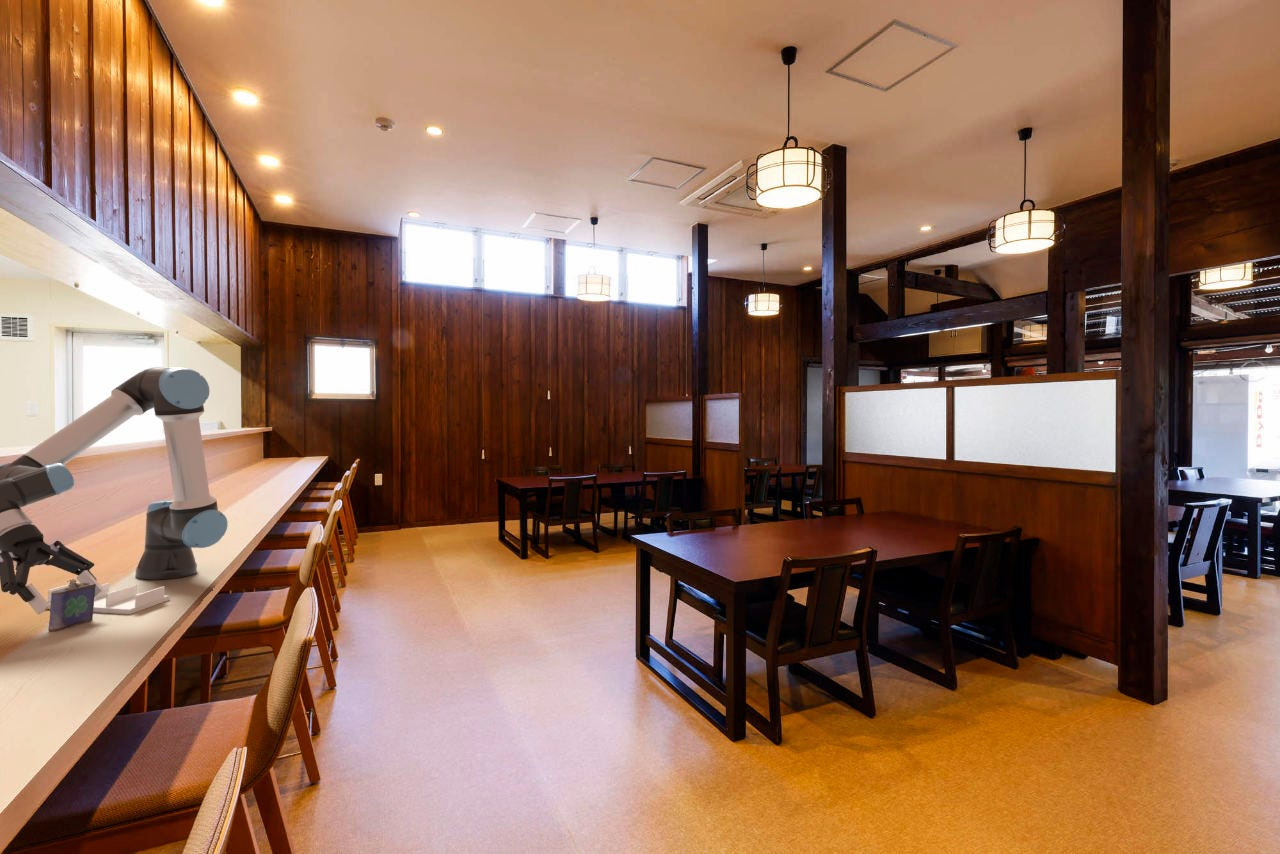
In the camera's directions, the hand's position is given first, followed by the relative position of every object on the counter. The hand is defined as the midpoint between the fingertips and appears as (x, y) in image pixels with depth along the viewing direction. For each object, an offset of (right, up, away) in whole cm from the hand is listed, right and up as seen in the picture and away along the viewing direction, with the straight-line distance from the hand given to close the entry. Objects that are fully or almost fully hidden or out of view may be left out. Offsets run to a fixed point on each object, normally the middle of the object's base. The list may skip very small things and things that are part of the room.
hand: (72, 601), depth 143 cm
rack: (-6, -5, +17) cm, 18 cm away
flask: (-1, -6, +1) cm, 6 cm away
